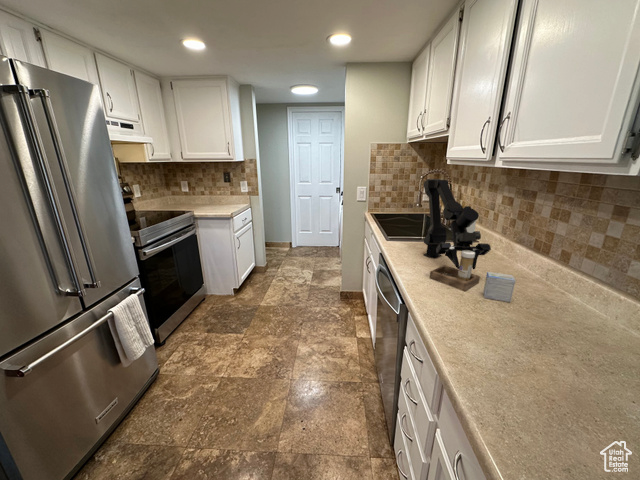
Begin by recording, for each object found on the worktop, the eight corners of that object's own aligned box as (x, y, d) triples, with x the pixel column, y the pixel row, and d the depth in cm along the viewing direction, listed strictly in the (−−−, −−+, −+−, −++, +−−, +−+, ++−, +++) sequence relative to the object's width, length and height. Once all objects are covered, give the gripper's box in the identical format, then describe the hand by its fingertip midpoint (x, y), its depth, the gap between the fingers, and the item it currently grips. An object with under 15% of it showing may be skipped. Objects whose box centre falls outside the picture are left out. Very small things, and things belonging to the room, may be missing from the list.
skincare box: (472, 245, 149) (477, 218, 144) (460, 244, 151) (464, 217, 146) (468, 240, 157) (472, 215, 152) (456, 240, 158) (460, 214, 154)
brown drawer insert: (429, 278, 110) (430, 271, 109) (443, 271, 116) (444, 265, 115) (465, 291, 98) (466, 284, 98) (478, 283, 105) (479, 276, 104)
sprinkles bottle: (453, 282, 106) (459, 250, 102) (461, 279, 108) (466, 248, 104) (464, 286, 102) (470, 254, 98) (471, 284, 104) (478, 252, 100)
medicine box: (508, 297, 94) (513, 274, 92) (510, 303, 90) (516, 280, 88) (482, 292, 98) (486, 271, 95) (484, 298, 94) (488, 276, 91)
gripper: (442, 222, 102) (447, 259, 95) (493, 223, 100) (503, 261, 93) (433, 236, 112) (438, 270, 105) (480, 237, 110) (488, 272, 103)
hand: (466, 268), depth 101 cm, fingers open, 5 cm apart
